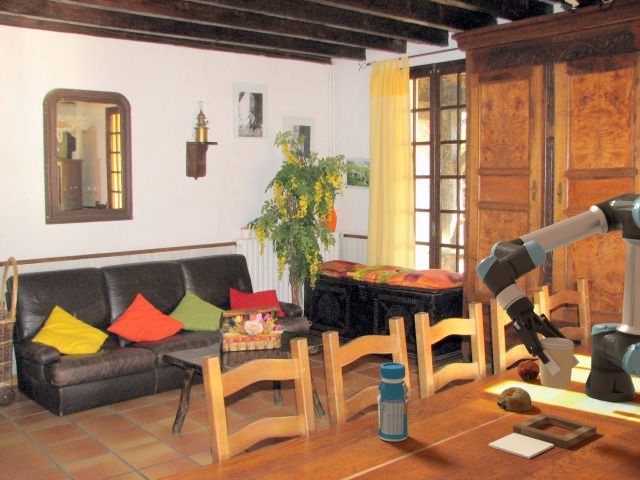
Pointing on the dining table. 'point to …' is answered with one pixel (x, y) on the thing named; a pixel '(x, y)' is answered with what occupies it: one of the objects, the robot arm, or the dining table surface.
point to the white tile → (521, 445)
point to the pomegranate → (528, 370)
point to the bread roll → (514, 399)
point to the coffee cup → (557, 362)
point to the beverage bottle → (392, 403)
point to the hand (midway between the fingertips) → (566, 368)
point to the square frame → (566, 441)
